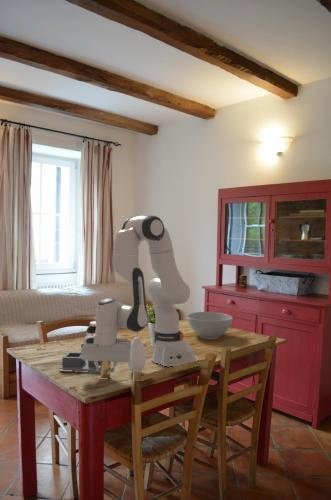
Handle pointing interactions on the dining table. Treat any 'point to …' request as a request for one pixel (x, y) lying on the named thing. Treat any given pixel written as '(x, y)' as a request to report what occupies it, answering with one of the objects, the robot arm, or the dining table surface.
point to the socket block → (78, 363)
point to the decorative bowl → (209, 324)
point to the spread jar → (91, 328)
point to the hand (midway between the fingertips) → (105, 371)
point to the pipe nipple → (105, 369)
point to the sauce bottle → (137, 355)
